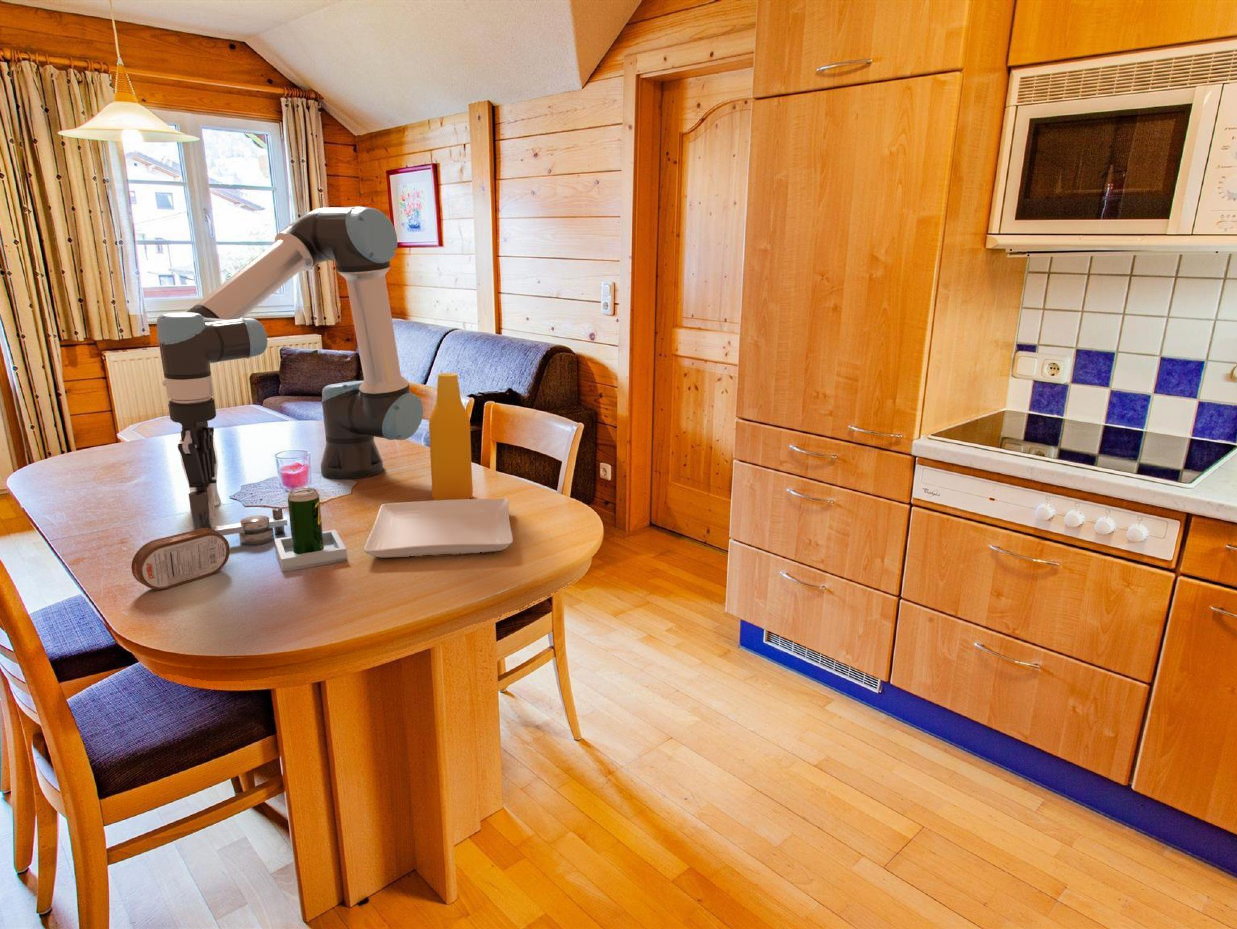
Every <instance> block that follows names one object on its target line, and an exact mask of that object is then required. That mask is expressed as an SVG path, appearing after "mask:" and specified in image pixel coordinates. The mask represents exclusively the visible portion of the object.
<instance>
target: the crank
mask: <svg viewBox="0 0 1237 929" xmlns="http://www.w3.org/2000/svg"><path fill="white" fill-rule="evenodd" d="M188 499H189V500H188V501H189V507H190V508H189V509H190V515H191V519H192V520H191V522H192V528H193V530H197V529H201V528H209V529H213V530H215V531H217V532H219V533H220V534H221V535H222V536H230V535H237V534H239V533H243V532H245V533H257V532H262V531H265V530H267V529H269V528H273V529H274V527H280V526H284V527H286V526H288V519H287V517H286V516H283V517H279V518H273V517H272V518H269V516H266V515H251V516H247V517H244V518H242V519H240V522H238V523H230V524H224V525H217V526H212V521H211V519H212V518H210V512H209V505H208V497H207V492H206V491H195V492H191V493H190V492H189V493H188Z"/></svg>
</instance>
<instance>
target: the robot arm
mask: <svg viewBox="0 0 1237 929" xmlns="http://www.w3.org/2000/svg"><path fill="white" fill-rule="evenodd" d="M397 249H398V234H397V231H396V228H395V227H394V224H393V222H392V221H391V219H390V218H389V217H388V216H387V215H385V213H384V212H382V211H381V210H379V209H377V208H374V207H367V206H358V205H357V206H343V207H342V206H340V207H339V206H338V207H336V206H334V207H331V206H328V207H327V206H326V207H325V206H324V207H320V208H316V209H314V210H311V211H309V212H307V213H305V214H304V215H302V216H301V217H299V218H297V219H296V220H294V221H293V222H291V223H290V224H289V225H287V226H286V227H285V228H283V229H282V230H281V231H280V232H278V233H277V234H275V237H274V243H272V244H271V245H270V246H269V247H268V248H266V249H265V250H263V251H262V252H261V253H260V254H258V255H257V256H256V257H255V258H254V259H252V260H250V261H249V263H247V264H246V265H244V266H243V267H242V268H241V269H239V270H238V271H237V272H236V273H234V274H233V275H232V276H230V277H229V278H228V279H227V280H226V281H224V282H223V283H222V284H221V285H219V286H218V287H216V288H214V290H213V291H211V292H209V294H208V295H206V296H205V297H203V298H202V299H201V300H200V301H199V302H197V303H196V304H195V305H193V306H192V307H191V308H190V309H189V310H187V311H185V312H167V313H163V314H160V315H158V317H157V319H156V332H157V338H156V340H157V343H158V345H159V346H158V347H159V353H160V359H161V365H162V370H163V376H164V380H163V381H162V385H163V386H164V387H165V390H166V397H167V398H168V399H169V401H168V402H167V405H168V414H169V418H170V420H171V422H174V423H178V424H180V425H181V431H180V440H181V439H182V440H183V442H184V443H183V444H180V443H178V444H177V450H178V452H179V454H181V455H180V457H181V456H182V460H183V463H184V467H185V471H186V474H187V478H188V482H189V485H188V488H189V487H190V488H195V491H206V492H207V497H208V505H209V512H210V519H214V518H216V517H217V516H216V506H215V505H214V498H213V491H212V485H210V484H212V483H216V479H212V477H214V476H215V471H214V448H213V437H214V434H215V433H214V432H215V429H214V427H213V426H209V421H212V420H214V419H215V418H216V417H217V412H216V404H215V399H214V398H213V396H214V394H215V393H214V385H213V378H212V372H211V364H215V363H221V362H227V361H233V360H240V359H251V358H253V357H257V356H258V357H259V356H260V355H263V353H264V352H266V349H267V348H268V334H267V331H266V329H265V327H264V325H263V324H262V323H261V321H259V320H258V319H255V318H253V317H250V318H249V317H248V318H247V317H246V316H247V315H249V313H251V312H252V311H253V310H254V309H256V308H257V307H258V306H259V305H261V304H262V303H263V302H264V301H265V300H267V299H268V298H269V297H270V296H272V295H273V294H274V293H275V292H277V291H278V290H279V289H280V288H281V287H283V285H285V284H286V283H288V281H290V280H291V279H292V278H293V277H294V276H296V275H297V274H298V273H299V272H300V271H301V272H307V271H309V270H311V269H312V268H313V267H314V266H316V265H317V264H321V263H323V262H324V263H325V262H329V261H330V262H331V261H335V265H336V266H335V267H336V270H337V273H338V274H339V275H340V276H342V277H343V278H344V279H345V282H346V287H347V292H348V293H347V294H348V298H349V304H350V308H351V309H350V310H351V316H352V320H353V326H354V332H355V337H356V343H357V347H358V348H357V349H358V353H359V359H360V360H359V361H360V365H361V369H362V370H361V371H362V376H363V380H354V381H345V382H339V383H332V384H328V385H326V386H324V387H323V388H322V391H321V397H322V399H321V407H322V415H323V424H324V434H325V447H324V450H323V454H322V459H321V462H320V470H321V471H320V472H321V475H322V476H324V477H327V478H330V479H339V480H343V479H345V480H349V479H350V480H351V479H359V478H360V479H361V478H366V477H367V478H368V477H371V476H374V475H377V474H379V473H381V472H383V470H384V462H383V458H382V456H381V454H380V451H379V449H378V447H377V444H376V442H375V437H376V438H382V439H386V440H389V441H394V440H395V441H404V440H407V439H410V438H411V437H412V436H414V435H415V433H417V431H418V429H419V427H420V425H421V423H422V421H423V416H424V406H423V403H422V400H421V398H419V397H418V395H416V394H414V393H412V392H411V388H410V383H409V380H408V379H407V378H405V377H404V376H402V372H401V368H400V362H399V361H400V360H399V355H398V350H397V343H396V336H395V330H394V324H393V318H392V311H391V305H390V298H389V294H388V287H387V280H386V274H387V273H388V272H389V270H390V269H391V262H390V261H391V260H393V258H394V257H395V255H396V250H397ZM245 317H246V318H245ZM188 482H187V483H188ZM190 488H189V489H190Z"/></svg>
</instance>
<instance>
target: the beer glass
mask: <svg viewBox="0 0 1237 929" xmlns="http://www.w3.org/2000/svg"><path fill="white" fill-rule="evenodd" d="M215 442H216V441H215V438H214V436H213V448H214V471H215V476H214V477H212V479H216V483H212V484H210V485H212V491H213V498H214V505H215V507H217V506H220V505H221V503H222V500H221V497H220V495H219V491H218V486H217V485H218V470H219V466H218V465H219V464H218V461H219V459H218V453H217V452H218V451H217V447H216V443H215ZM183 443H184V442H183V440H182V439H181V438H180V440H179V444H183ZM179 454H180V453H179ZM180 461H181V466H182V471H183V473H184V476H185V480H186V481H187V484H188V488H189V493H191V492H195V488H190V487H189V482H188V478H187V474H186V471H185V467H184V463H183V460H182V456H181V454H180Z"/></svg>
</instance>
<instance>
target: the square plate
mask: <svg viewBox="0 0 1237 929" xmlns="http://www.w3.org/2000/svg"><path fill="white" fill-rule="evenodd" d="M509 503H510V502H509V499H508V498H505V497H503V498H471V499H460V500H435V501H434V500H420V501H408V502H391V503H384V504H383V503H382V504H381V505H380V507H379V510H378V512H377V515H376V518H375V521H374V523H373V526H372V528H371V530H370V533H369V535H368V537H367V540H366V542H365V545H364V547H363V551H364V553H366V554H368V555H369V556H372V557H375V558H385V559H386V558H410V557H409V556H415V557H424V556H423V555H433V556H439V555H438V554H452V555H460V554H459V553H473V554H480V552H482V553H493V552H498V551H499V552H500V551H503V550H505V549H507V548H508V547H509V546H511V545H512V544H513V542H514V538H513V533H512V527H511V523H510V513H509V512H510V509H509V508H510V504H509Z"/></svg>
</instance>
